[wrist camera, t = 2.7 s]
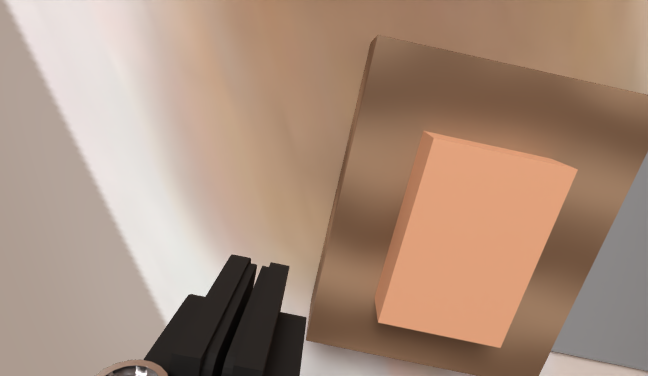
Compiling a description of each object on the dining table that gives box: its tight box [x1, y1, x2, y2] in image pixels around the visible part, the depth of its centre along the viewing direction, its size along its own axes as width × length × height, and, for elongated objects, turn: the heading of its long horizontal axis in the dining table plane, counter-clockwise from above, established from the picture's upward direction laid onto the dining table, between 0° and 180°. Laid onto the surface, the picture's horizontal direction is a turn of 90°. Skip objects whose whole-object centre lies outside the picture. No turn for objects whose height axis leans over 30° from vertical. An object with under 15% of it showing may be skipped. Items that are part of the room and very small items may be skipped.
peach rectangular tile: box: [374, 131, 578, 348], centre depth 17 cm, size 9×6×2 cm, turn 168°
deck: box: [306, 35, 648, 376], centre depth 20 cm, size 16×13×4 cm
